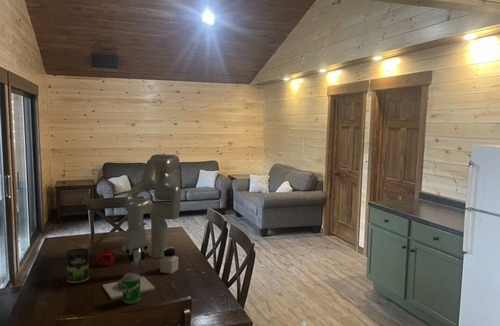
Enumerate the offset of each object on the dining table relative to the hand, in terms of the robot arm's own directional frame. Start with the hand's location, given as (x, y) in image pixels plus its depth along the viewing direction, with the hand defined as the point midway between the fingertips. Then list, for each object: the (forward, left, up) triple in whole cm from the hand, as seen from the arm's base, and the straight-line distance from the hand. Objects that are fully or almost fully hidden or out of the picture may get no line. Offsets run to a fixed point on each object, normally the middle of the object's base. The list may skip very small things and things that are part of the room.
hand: (136, 259), depth 202 cm
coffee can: (+27, -9, -8) cm, 29 cm away
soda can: (+12, +29, -8) cm, 32 cm away
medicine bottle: (-16, +4, -8) cm, 19 cm away
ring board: (+9, +15, -8) cm, 19 cm away
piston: (0, 0, -3) cm, 3 cm away
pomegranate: (+10, -23, -8) cm, 26 cm away
